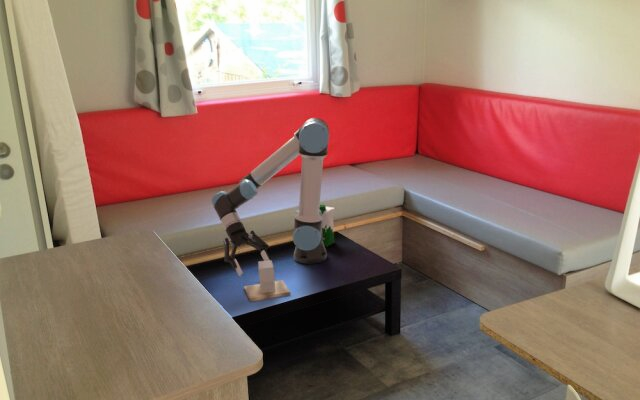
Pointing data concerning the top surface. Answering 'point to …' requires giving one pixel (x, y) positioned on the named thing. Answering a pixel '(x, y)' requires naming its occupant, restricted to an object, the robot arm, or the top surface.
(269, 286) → the small box
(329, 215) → the milk carton
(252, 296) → the birch board
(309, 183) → the robot arm
